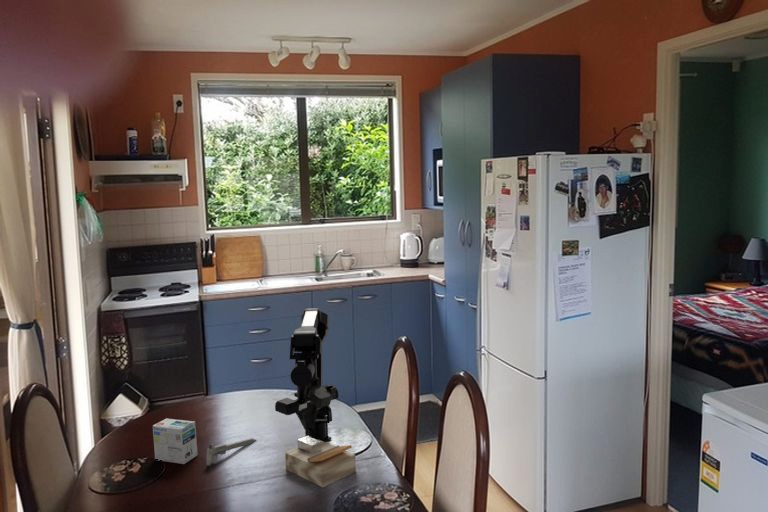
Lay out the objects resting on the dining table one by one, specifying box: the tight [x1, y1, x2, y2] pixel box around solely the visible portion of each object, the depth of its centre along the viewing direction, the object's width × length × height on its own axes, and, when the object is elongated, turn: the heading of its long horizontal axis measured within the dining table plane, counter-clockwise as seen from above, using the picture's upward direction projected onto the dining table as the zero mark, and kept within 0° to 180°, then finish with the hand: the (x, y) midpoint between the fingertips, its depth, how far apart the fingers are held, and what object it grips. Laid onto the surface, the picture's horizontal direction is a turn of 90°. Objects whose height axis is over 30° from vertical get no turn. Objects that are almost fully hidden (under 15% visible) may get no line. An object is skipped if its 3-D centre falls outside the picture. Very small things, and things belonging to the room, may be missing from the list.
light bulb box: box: [152, 417, 199, 465], centre depth 186 cm, size 11×7×11 cm, turn 71°
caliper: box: [205, 437, 257, 467], centre depth 189 cm, size 20×1×6 cm, turn 151°
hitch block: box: [284, 439, 357, 488], centre depth 176 cm, size 16×12×5 cm
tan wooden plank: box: [307, 444, 353, 462], centre depth 172 cm, size 6×11×1 cm, turn 136°
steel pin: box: [297, 436, 322, 454], centre depth 178 cm, size 4×6×7 cm, turn 45°
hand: (308, 428), depth 178 cm, fingers closed
